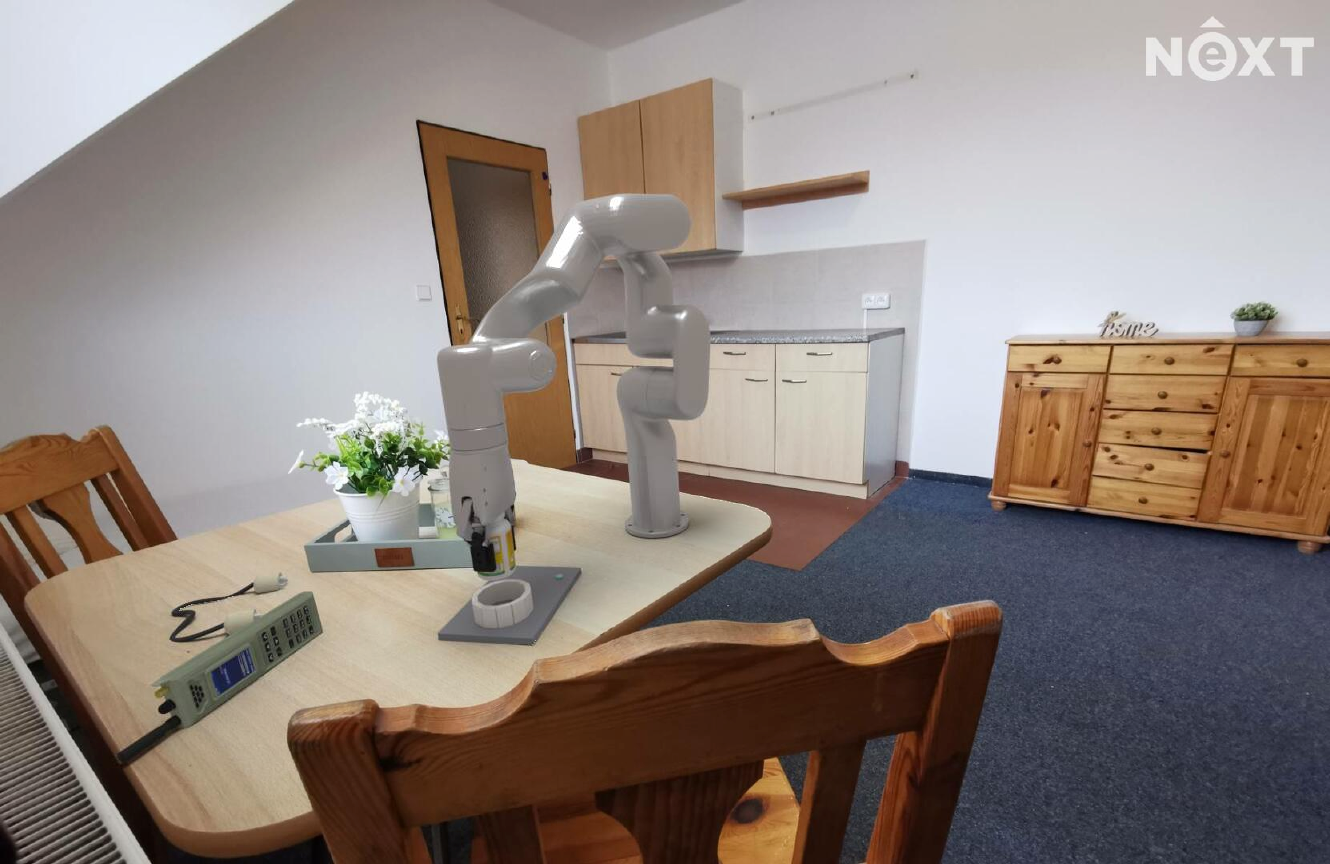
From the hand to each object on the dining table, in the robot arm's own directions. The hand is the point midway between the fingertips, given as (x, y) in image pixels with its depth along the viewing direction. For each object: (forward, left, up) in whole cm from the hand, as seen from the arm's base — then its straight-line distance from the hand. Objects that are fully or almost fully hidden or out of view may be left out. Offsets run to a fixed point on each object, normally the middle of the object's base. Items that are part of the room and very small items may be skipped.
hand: (495, 559), depth 80 cm
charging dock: (-4, 0, -9) cm, 10 cm away
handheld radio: (+18, -28, -10) cm, 34 cm away
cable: (+3, -46, -10) cm, 47 cm away
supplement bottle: (0, 0, -2) cm, 2 cm away
